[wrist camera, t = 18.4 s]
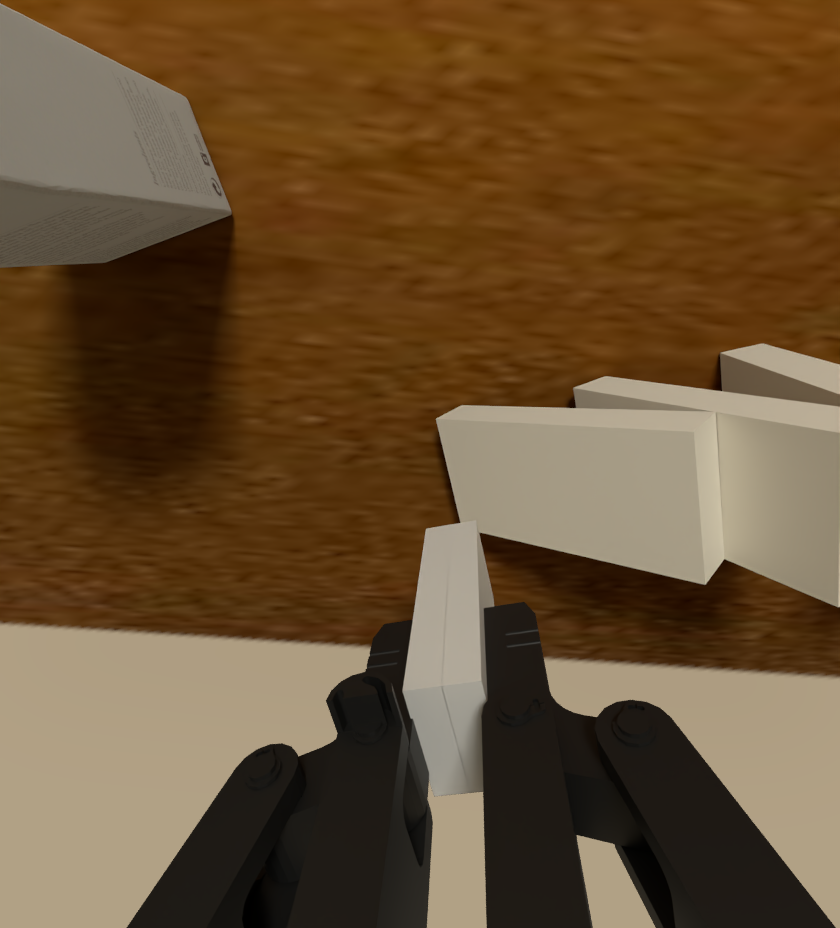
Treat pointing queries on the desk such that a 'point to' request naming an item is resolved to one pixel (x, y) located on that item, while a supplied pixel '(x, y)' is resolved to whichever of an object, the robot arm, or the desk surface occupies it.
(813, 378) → the domino
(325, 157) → the desk surface
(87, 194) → the skincare box
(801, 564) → the domino
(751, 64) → the desk surface
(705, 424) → the domino
